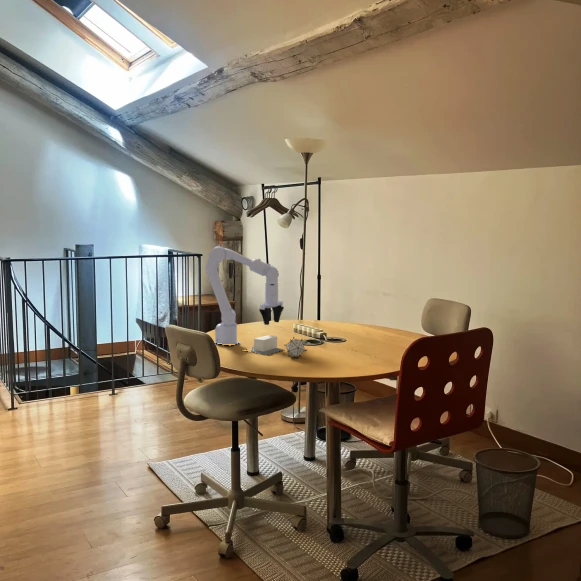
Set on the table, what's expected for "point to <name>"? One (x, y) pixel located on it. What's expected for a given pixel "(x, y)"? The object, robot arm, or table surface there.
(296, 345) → the game die
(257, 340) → the tall block
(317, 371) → the table surface
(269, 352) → the slate mat
